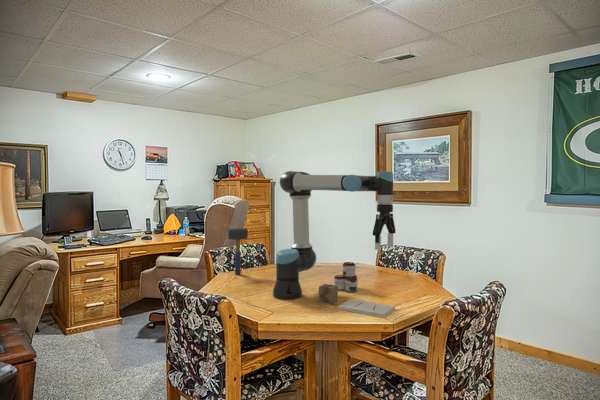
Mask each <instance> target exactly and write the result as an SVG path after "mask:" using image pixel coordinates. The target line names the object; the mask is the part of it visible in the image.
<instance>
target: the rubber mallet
mask: <svg viewBox="0 0 600 400" xmlns="http://www.w3.org/2000/svg"><path fill="white" fill-rule="evenodd" d="M227 236H228V237H227V238H228V240H231V241H232V240H234V241H235V254H234V263H235V265H234V266H235V267H234V274H235V275H241V273H242V270H241V269H242V268H241V261H242V256H241V251H240V250H241V243H240V242H241V240H247V239H248V238H249V237H248V236H249V233H248V228H245V227H242V228H241V227H237V228H236V227H235V228H228V229H227Z"/></svg>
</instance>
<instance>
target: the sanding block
mask: <svg viewBox="0 0 600 400" xmlns="http://www.w3.org/2000/svg"><path fill="white" fill-rule="evenodd" d="M338 292H339V291H338V286H335V285H334V284H330V283H329V284H328V283H325V284H322V285H320V286H318V303H319V304H322V305H328V306H331V305H334V304H336V303H338V300H339V299H338V298H339V296H338Z"/></svg>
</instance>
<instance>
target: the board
mask: <svg viewBox="0 0 600 400" xmlns="http://www.w3.org/2000/svg"><path fill="white" fill-rule="evenodd" d="M337 307H338V308H337V309H338V310H341V311H346V312H350V313H356V314H363V315H367V316H372V315H373V316H374V317H378V316H379V318H383V317H384V318H385V316H386V317H387V316H388V315H390V314H391V313H392V312H394V311H395V310H396V305H389V304H384V303H377V302H372V301H366V300H361V299H354V298H353V299H352V298H351V299H349V300H346V301H344V302H343V303H341V304H340V305H338V306H337Z"/></svg>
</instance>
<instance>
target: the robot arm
mask: <svg viewBox="0 0 600 400" xmlns="http://www.w3.org/2000/svg"><path fill="white" fill-rule="evenodd" d="M279 186H280V188H281V189H282V190H283V191H284V192H285V193H288V194H289V198H291V200H292V227H293V228H292V229H293V244H292V245H291V246H290V248H286V249H285V248H284V249H281V250H279V251H277V253H276V257H275V263H276V264H275V268H276V271H275V273H276V280H275V283H274V287H273V290H272V296H273V297H274V298H277V299H281V300H294V299H298V298H301V297H302V296H303V290H302V287H301V284H300V279H299V276H300V275H299V274H300V273H302V272H306V271H308V270H310V269H312V268H313V267H314V266H315V264H316V263H317V254H316V252H315V251H314V249H313V245H312V244H311V243H310V217H309V214H310V213H309V199H310V197H312V193H311V192H312V191H331V192H332V191H338V192H340V191H341V192H376V212H377V213H379V214H376V215H375V222H374V225H373V231H372V236H374V250H377V251H382V231H383V229H384V226H385V227H386V230H387V232H388V233H387V242H386V243H387V246H386V247H389V248H391V247H392V248H394V234H396V230H397V229H396V225H395V221H394V213H393V211H394V205H393V204H394V198H395V197H394V173H393V171H377V174H376V175H357V174H310V173H308V172H306V171H293V170H288V171H285V172H284V173H282V175H281V176H280V178H279Z"/></svg>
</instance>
